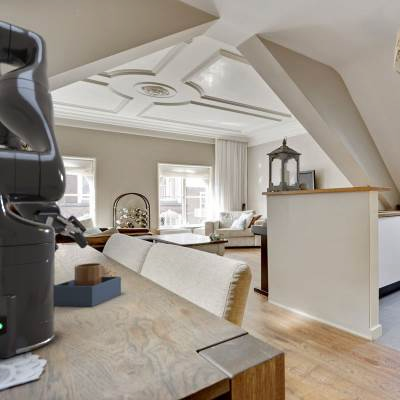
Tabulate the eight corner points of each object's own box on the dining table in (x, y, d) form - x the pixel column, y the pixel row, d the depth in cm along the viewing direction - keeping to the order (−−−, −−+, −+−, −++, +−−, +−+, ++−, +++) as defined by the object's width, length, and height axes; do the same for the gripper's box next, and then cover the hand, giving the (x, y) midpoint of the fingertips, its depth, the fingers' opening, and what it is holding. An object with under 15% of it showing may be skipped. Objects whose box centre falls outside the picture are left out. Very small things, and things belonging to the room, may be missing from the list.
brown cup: (90, 300, 75) (90, 267, 76) (68, 300, 76) (68, 267, 76) (106, 294, 81) (106, 263, 81) (86, 293, 82) (86, 262, 82)
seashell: (123, 269, 104) (108, 264, 97) (119, 286, 102) (103, 282, 94) (100, 269, 105) (83, 263, 97) (95, 286, 102) (77, 282, 95)
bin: (92, 306, 73) (92, 286, 73) (51, 305, 74) (52, 285, 74) (120, 294, 83) (121, 276, 83) (85, 293, 84) (85, 276, 84)
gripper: (13, 192, 74) (53, 241, 72) (67, 194, 88) (102, 235, 86) (-5, 214, 75) (34, 263, 73) (51, 213, 89) (86, 254, 87)
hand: (71, 248), depth 80 cm, fingers open, 8 cm apart
